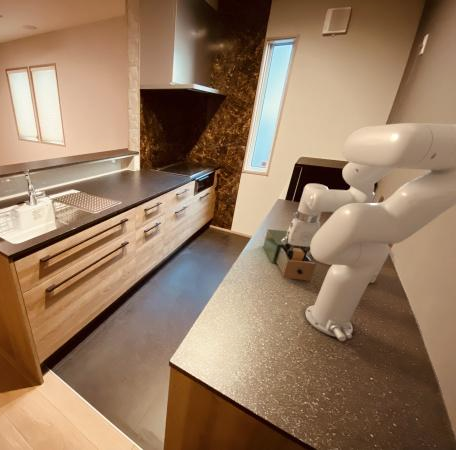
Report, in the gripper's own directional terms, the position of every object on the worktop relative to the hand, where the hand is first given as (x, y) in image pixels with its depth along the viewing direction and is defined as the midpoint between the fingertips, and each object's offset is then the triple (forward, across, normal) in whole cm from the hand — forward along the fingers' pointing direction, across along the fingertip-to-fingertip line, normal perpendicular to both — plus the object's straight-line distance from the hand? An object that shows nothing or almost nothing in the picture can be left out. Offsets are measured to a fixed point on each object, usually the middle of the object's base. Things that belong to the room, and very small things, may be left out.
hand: (294, 258), depth 100 cm
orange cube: (0, 0, 0) cm, 0 cm away
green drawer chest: (+6, 0, +13) cm, 15 cm away
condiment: (+7, +18, +15) cm, 25 cm away
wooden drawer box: (+6, 0, 0) cm, 6 cm away
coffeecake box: (+7, +27, +5) cm, 28 cm away
